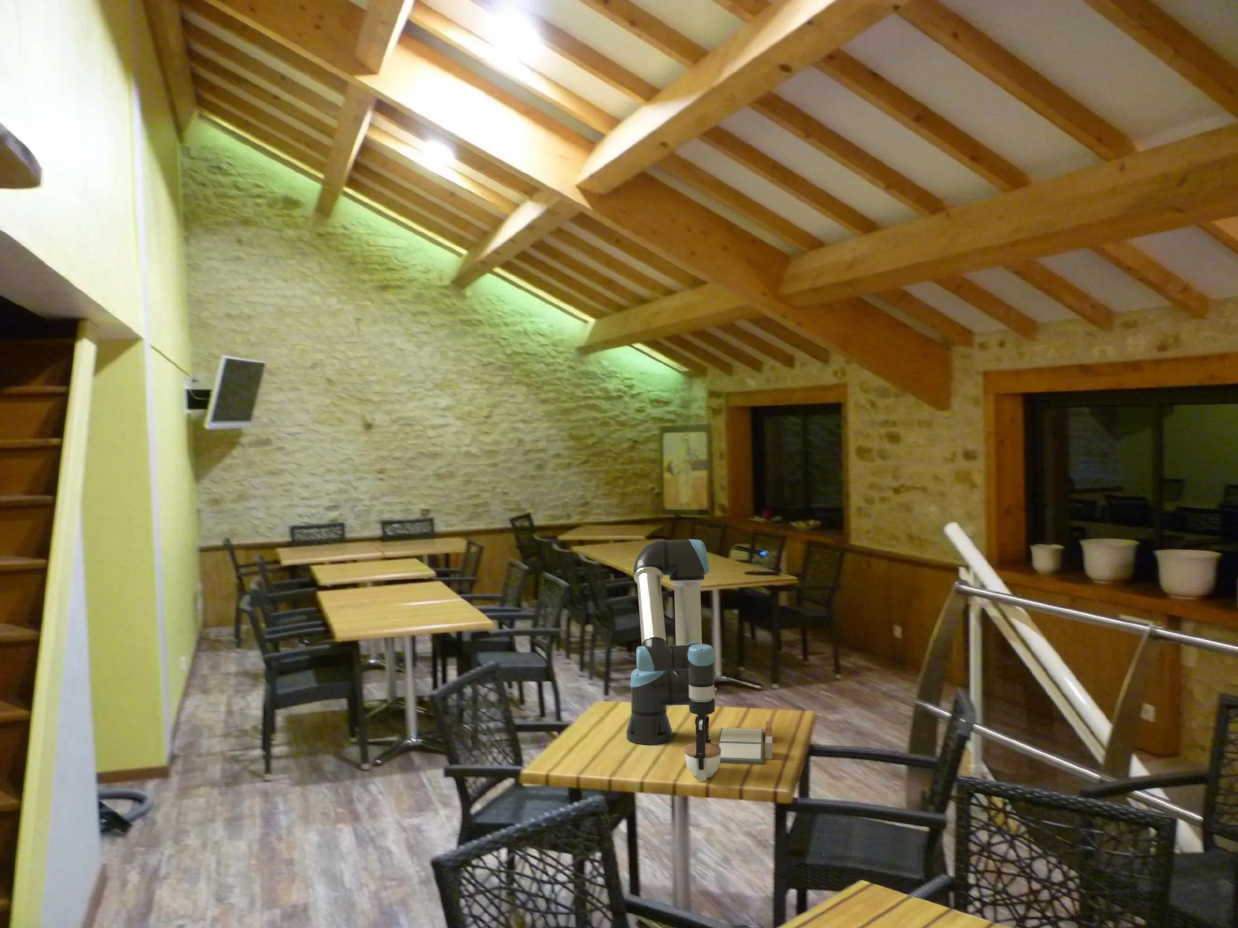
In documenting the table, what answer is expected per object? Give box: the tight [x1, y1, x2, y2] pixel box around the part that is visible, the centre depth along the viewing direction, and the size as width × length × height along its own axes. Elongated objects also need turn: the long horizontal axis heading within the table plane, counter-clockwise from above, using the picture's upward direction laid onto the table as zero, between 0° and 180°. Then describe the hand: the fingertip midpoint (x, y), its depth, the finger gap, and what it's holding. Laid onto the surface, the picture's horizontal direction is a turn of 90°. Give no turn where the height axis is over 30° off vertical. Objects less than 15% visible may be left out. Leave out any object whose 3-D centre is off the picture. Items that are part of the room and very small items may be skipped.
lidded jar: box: [683, 742, 721, 779], centre depth 280 cm, size 11×11×9 cm
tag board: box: [717, 721, 773, 765], centre depth 302 cm, size 17×30×5 cm, turn 171°
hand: (703, 772), depth 280 cm, fingers closed on lidded jar, 11 cm apart
